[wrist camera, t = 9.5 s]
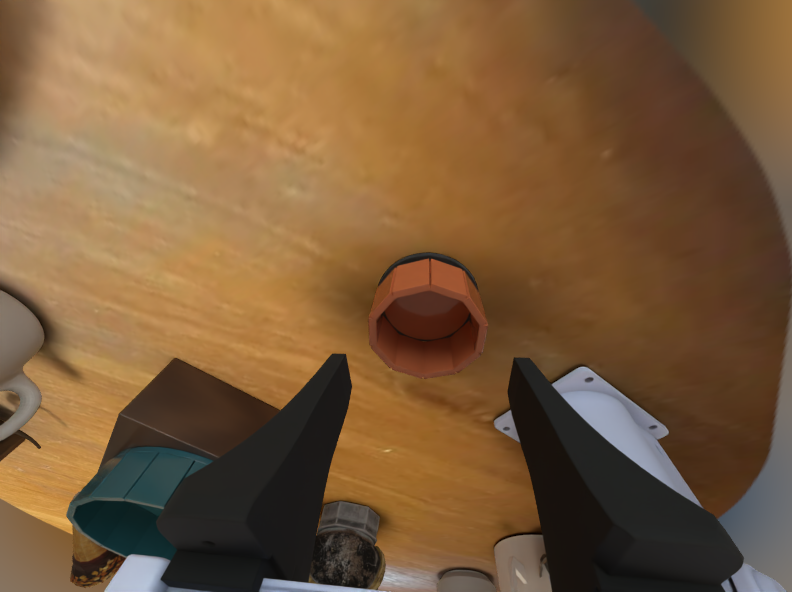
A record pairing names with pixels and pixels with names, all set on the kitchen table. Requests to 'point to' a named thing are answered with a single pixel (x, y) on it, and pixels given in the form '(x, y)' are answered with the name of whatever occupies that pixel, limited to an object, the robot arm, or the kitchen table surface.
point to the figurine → (13, 442)
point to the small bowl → (427, 319)
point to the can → (464, 582)
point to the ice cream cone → (92, 561)
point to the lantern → (347, 548)
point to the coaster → (429, 256)
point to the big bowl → (132, 500)
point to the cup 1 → (18, 359)
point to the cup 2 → (521, 564)
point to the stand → (188, 415)
